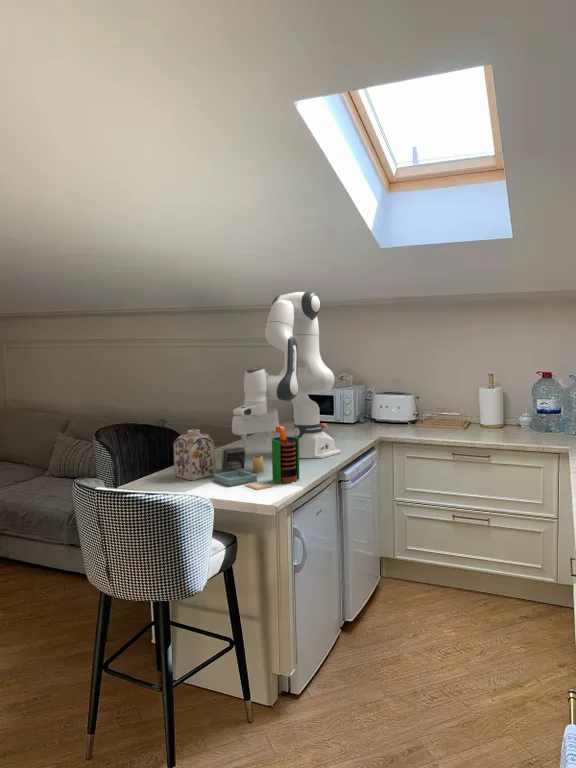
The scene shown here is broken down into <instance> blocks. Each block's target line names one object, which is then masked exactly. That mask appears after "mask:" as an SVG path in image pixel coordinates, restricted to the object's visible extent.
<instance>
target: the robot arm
mask: <svg viewBox="0 0 576 768" xmlns="http://www.w3.org/2000/svg"><path fill="white" fill-rule="evenodd" d="M321 304H322V302H321V299H320V297H319V296H318V294H317V293H316V292H313V291H295V292H291V293H290V292H289V293H286V294H283V293H282V294H279V295H276V296H275V297H274V299H273V301H272V303H271V307H270V311H269V313H268V317H267V320H266V321H267V322H266V326H265V331H264V333H265V336H264V337H265V339H266V341H267V342H268V343H269V345H271V346H272V347H274V348H276V349H279V350H281V351H282V352H283V354H284V360H283V361H284V362H283V363H284V369H282V370H281V371H280V372H279V374H278V375H272V374H269V373H267V371H266V370H265V368H264V367H262V366H258V367H256V366H255V367H250V368H248V369H246V370H245V372H244V373H245V374H244V377H243V379H244V380H243V392H244V401H243V402H244V403H243V405H240V406H239V407H236V408H234V409H233V410H232V411H233V412H232V414H233V415H234V416H233V417H232V421H231V432H232V434H233V435H235V436H240V439H241V440H242V441H243V445H242V446H244V447H249V445H250V441H249V440H247V435H251V434H260V433H265V434H266V435H265V438H263V443H264V444H269V443H270V438H271V436H272V432H276V427H278V426H280V421H279V411H278V410H277V408H275V407H268V400H278V401H285V402H292V406H293V413H294V414H293V415H294V423H293V435H294V437H298V438H299V459H323V458H326V457H327V458H328V457H331V456H334V455H339V454H341V453H342V452H341V449H339V448H337V447H336V442H335V438H333V437H331V436H330V435H329V434H328V433H327V432H325V431H324V429H327V428H328V425H327V423H320V419H321V418H320V416H321V415H320V406H319V404H318V403H317V402H316V401H314V400H312V399H311V398H310V397H309V394H308V393H324V392H330V390H332V388H333V387H334V385H335V374H334V373H333V371H332V370H331V369H330V368H328V366H327V365H326V364H325V363H324V361H323V359H322V356H321V353H320V327H319V326H320V325H319V319H318V314H319V313H320V310H321V307H322V305H321ZM299 359H301V360H303V362H304V365H305V367H302V366H301V367H298V366H299V365H298V364H299V363H298V362H299V361H298V360H299ZM323 428H324V429H323Z"/></svg>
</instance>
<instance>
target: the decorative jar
mask: <svg viewBox="0 0 576 768" xmlns="http://www.w3.org/2000/svg"><path fill="white" fill-rule="evenodd" d="M173 464H174V465H173V467H174V477H175V476H177V478H179V477H180V479H183V480H186V479H187V481H190V480H191V482H192V480H193V481H196V480H201V479H206V478H210V477H214V474H217V473H216V472H217V471H216V450H215V441H214V440H213V439H212V437H211V436H210V434H207V433H201V430H200V429H189V430H187V434H181V435H179V436H178V437H177V438H176V439H175V441H174V442H173Z"/></svg>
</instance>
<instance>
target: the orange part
mask: <svg viewBox="0 0 576 768" xmlns="http://www.w3.org/2000/svg"><path fill="white" fill-rule="evenodd" d="M252 471H253V473H254V472H255V473H254V474H261V472H262V473H264V456H263V455H262V454H254V456H252Z"/></svg>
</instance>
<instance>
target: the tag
mask: <svg viewBox="0 0 576 768" xmlns="http://www.w3.org/2000/svg"><path fill="white" fill-rule="evenodd" d="M244 486H245V487H247V488H250V489H253V490H256V491H259V490H264V489H269V488H272V486H271V485H270V484H267V483H264V482H260V481H257V482H252V483H247V484H244Z"/></svg>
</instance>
